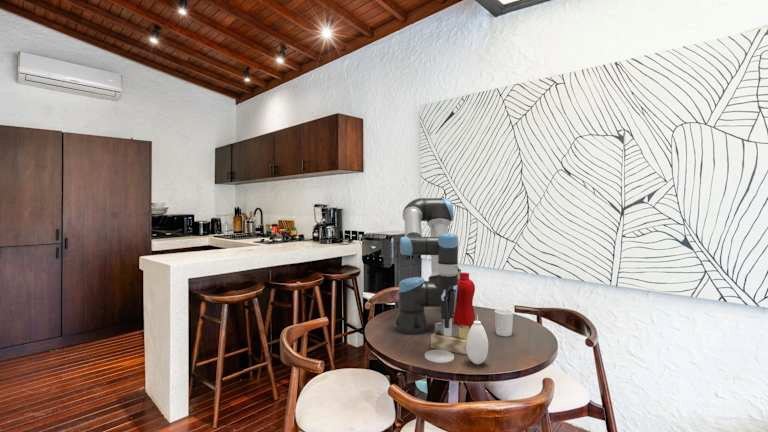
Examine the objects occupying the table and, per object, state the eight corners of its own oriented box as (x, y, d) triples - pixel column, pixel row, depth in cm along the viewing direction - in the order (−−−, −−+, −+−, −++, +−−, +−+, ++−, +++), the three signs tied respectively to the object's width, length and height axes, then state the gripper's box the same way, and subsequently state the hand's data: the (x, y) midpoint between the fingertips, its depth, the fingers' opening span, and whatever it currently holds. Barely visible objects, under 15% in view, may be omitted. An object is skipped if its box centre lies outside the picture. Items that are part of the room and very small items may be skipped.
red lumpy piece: (477, 322, 181) (477, 271, 180) (471, 329, 171) (471, 275, 170) (458, 319, 185) (459, 269, 184) (451, 325, 176) (452, 273, 175)
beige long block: (431, 347, 149) (431, 329, 149) (436, 341, 155) (437, 324, 155) (481, 357, 140) (481, 337, 140) (485, 350, 146) (485, 331, 146)
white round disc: (420, 359, 138) (420, 357, 138) (430, 349, 148) (430, 347, 148) (448, 365, 133) (448, 363, 133) (457, 354, 142) (457, 352, 142)
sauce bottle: (464, 366, 132) (464, 316, 132) (467, 357, 140) (467, 310, 139) (487, 369, 129) (487, 318, 129) (489, 360, 137) (489, 312, 136)
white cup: (514, 337, 160) (514, 314, 160) (495, 336, 162) (495, 313, 161) (511, 331, 168) (512, 309, 168) (493, 330, 169) (493, 308, 169)
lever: (433, 333, 150) (433, 323, 150) (436, 330, 153) (436, 320, 153) (466, 339, 144) (466, 328, 144) (469, 336, 147) (469, 325, 147)
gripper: (452, 278, 134) (451, 342, 135) (462, 272, 145) (462, 331, 146) (432, 276, 138) (432, 339, 138) (444, 270, 149) (443, 328, 150)
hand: (447, 335), depth 142 cm, fingers closed
